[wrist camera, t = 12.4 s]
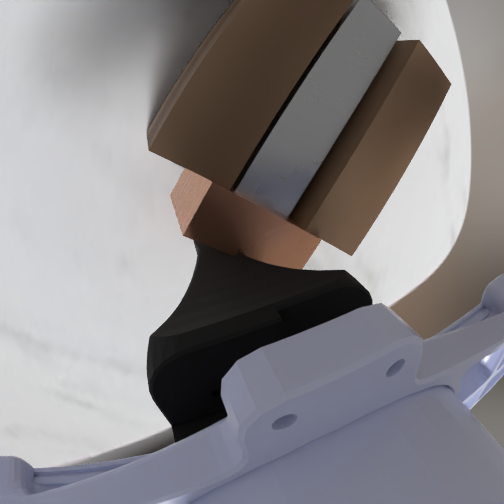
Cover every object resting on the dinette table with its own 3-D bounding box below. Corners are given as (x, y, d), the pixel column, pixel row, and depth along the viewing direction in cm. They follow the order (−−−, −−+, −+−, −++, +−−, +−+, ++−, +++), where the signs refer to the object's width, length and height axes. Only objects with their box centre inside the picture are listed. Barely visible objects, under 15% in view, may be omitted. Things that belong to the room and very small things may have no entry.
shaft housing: (146, 132, 11) (148, 150, 7) (254, -24, 9) (307, -67, 5) (295, 210, 15) (351, 256, 11) (377, 77, 13) (451, 84, 9)
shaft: (170, 195, 11) (182, 235, 8) (302, -8, 9) (357, -32, 6) (256, 235, 13) (293, 281, 10) (370, 52, 11) (432, 51, 8)
